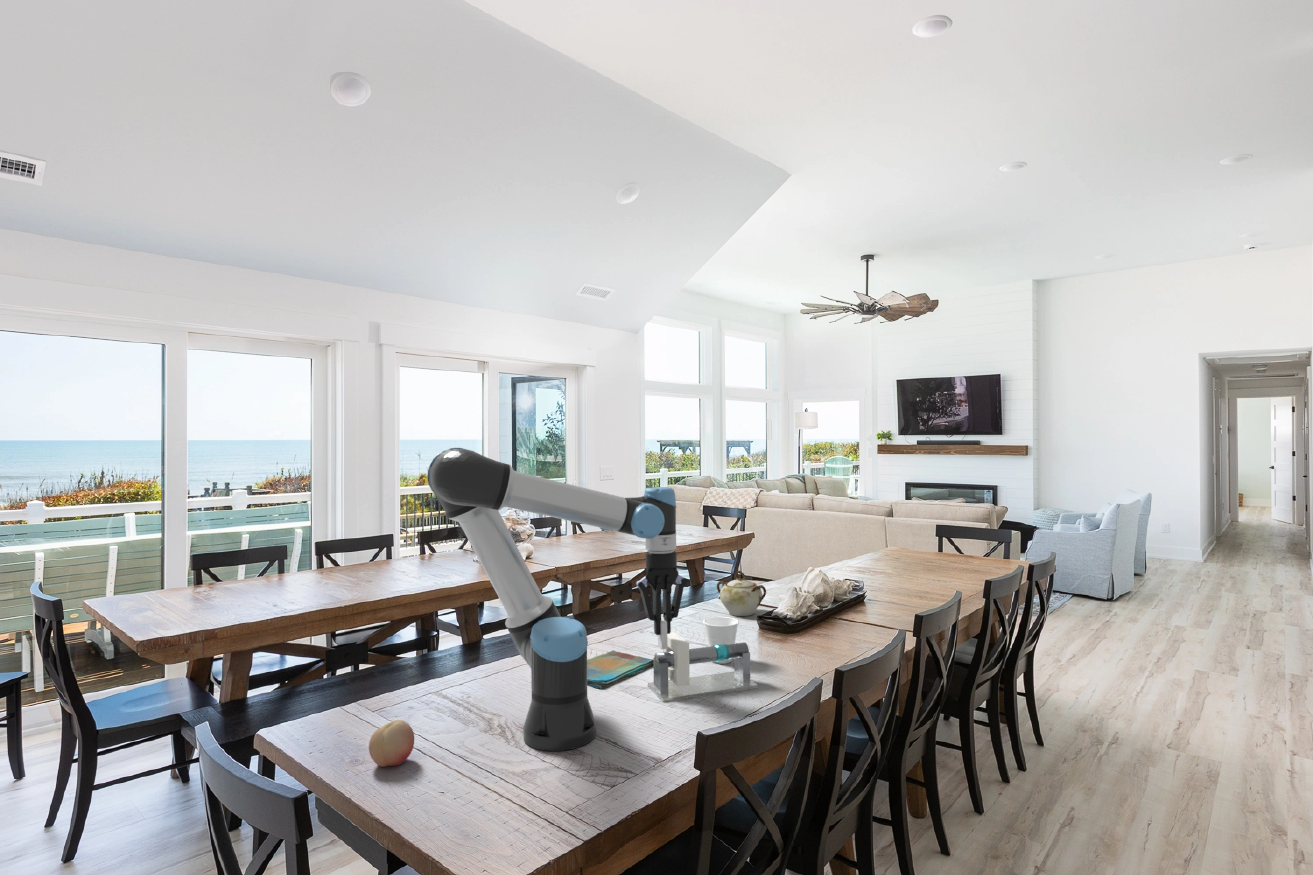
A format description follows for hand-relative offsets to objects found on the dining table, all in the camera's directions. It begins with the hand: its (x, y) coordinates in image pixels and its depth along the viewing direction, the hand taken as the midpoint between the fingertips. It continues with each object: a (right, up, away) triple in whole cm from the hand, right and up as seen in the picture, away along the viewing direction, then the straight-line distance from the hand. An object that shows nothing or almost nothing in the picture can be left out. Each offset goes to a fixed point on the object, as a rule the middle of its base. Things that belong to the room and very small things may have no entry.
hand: (662, 647), depth 171 cm
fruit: (-53, -12, -36) cm, 65 cm away
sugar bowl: (+28, -11, +75) cm, 81 cm away
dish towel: (-15, -12, +17) cm, 26 cm away
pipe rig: (+10, -11, +4) cm, 15 cm away
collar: (+3, -8, +1) cm, 9 cm away
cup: (+17, -11, +24) cm, 31 cm away
